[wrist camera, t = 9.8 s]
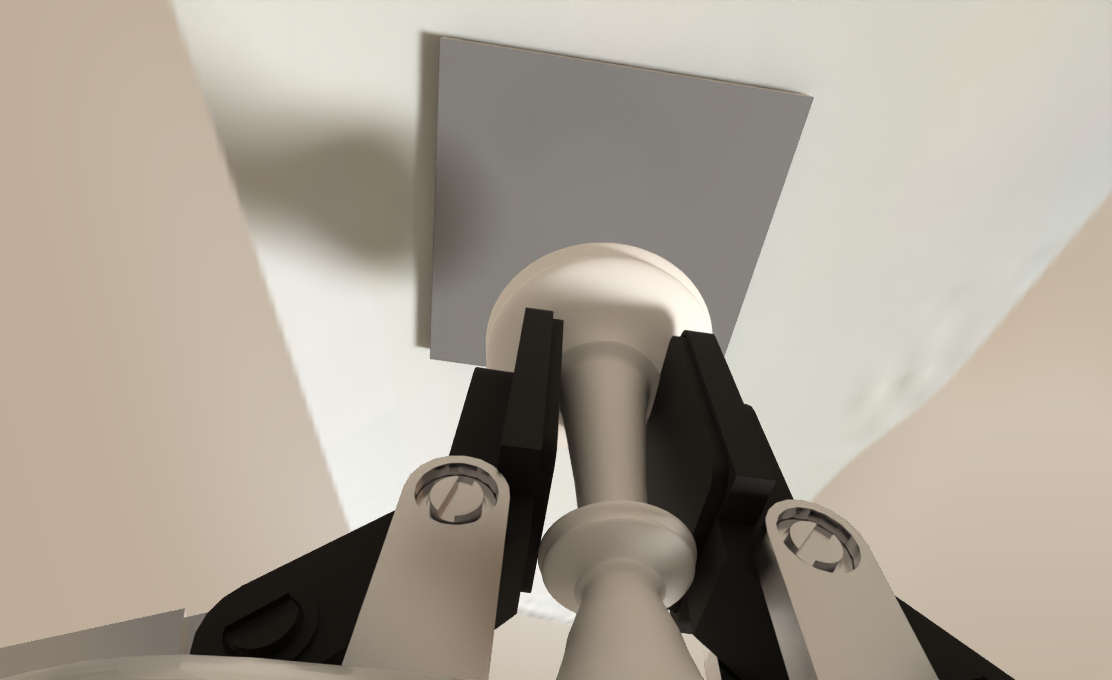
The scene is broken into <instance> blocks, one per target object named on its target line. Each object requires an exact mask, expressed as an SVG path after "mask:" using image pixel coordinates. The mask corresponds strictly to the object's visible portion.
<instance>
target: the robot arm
mask: <svg viewBox="0 0 1112 680" xmlns="http://www.w3.org/2000/svg"><path fill="white" fill-rule="evenodd" d="M553 314H554V311H549V310H542V309H535V308H528V307H526V309H525V314H524V319H523V325H522V330H521V336H520V341H519V347H518V352H517V358H516V363H515V369H514V372H508V371H500V370H493V369H486V368H479V367H476V368H475V370H474V373H473V376H472V379H471V383H470V386H469V389H468V393H467V396H466V400H465V403H464V406H463V410H462V413H461V417H460V420H459V423H458V427H457V430H456V434H455V437H454V440H453V444H452V447H451V450H450V454H449V456H446V457H441V458H436V459H433V460H431V461H429V462H427V463H425V464H423V465H421V466H420V467H418V468H417V469H416V470H415V471H414V472H413V473H412V474H410V476H409V478H408V479H407V481H406V483H405V485H404V487H403V490H402V493H401V495H400V498H399V501H398V504H397V507H396V510H395V511H393V512H391V513H388V514H386V515H384V516H382V517H380V518H378V519H376V520H374V521H372V522H370V523H368V524H366V525H364V526H362V527H360V528H358V529H356V530H354V531H352V532H350V533H348V534H346V535H344V536H342V537H340V538H338V539H336V540H334V541H332V542H330V543H328V544H326V545H324V546H322V547H320V548H318V549H316V550H314V551H312V552H310V553H308V554H305V555H303V556H302V557H299V558H297V559H295V560H293V561H291V562H289V563H287V564H285V565H283V566H281V567H279V568H277V569H275V570H273V571H271V572H269V573H267V574H265V575H263V576H261V577H259V578H257V579H255V580H253V581H251V582H249V583H247V584H245V585H243V586H241V587H240V588H238V589H236V590H235V591H233V592H232V593H230V594H228V595H227V596H225V597H224V598H222V600H220V601H219V602H218V603H217V604H216V605H215V606H214V607H213V608H212V609H211V610H210V611H209V612H208V613H203V614H199V615H194V616H190V617H188V616H187V613H186V609H185V608H184V609H179V610H175V611H170V612H166V613H161V614H156V615H152V616H147V617H142V618H138V619H133V620H129V621H124V622H119V623H115V624H110V625H105V626H101V627H96V628H92V629H87V630H82V631H78V632H73V633H68V634H64V635H60V636H55V637H50V638H45V639H41V640H36V641H31V642H27V643H22V644H18V645H13V646H8V647H4V648H0V680H488V678H489V669H490V661H491V652H492V644H493V636H494V630H495V629H496V628H498V627H499V626H500V625H502V624H503V623H505V622H506V621H507V620H509V619H510V618H512V617H513V616H514V615H516V614H517V609H518V603H519V597H520V592H526V593H531V590H532V585H533V580H534V575H535V569H536V564H537V558H538V549H539V546H540V542H541V537H542V532H543V526H544V521H545V515H546V510H547V505H548V499H549V494H550V489H551V483H552V478H553V472H554V467H555V460H556V452H557V443H558V425H559V405H560V385H561V365H562V345H563V326H564V320H560V319H553ZM646 488H647V504H649V505H653V506H656V507H658V508H661V509H663V510H665V511H667V512H669V513H671V514H672V515H674V516H675V517H677V518H678V519H679V520H680V521H681V522H682V523H683V524H684V525H685V526H686V527H687V528H688V529H689V531H690V532H691V534H692V536H693V538H694V540H695V543H696V548H697V560H696V565H695V575H694V579H693V582H692V584H691V586H690V587H689V589H688V590H687V592H686V593H685V594H684V595H683V596H682V597H681V598H680V599H679V600H678V601H677V602H676V603H674V604H673V605H671V606H670V607H668V608H667V610H670V615H671V617H672V618H673V620H674V621H675V623H676V625H677V626H678V628H679V630H680V632H681V633H686V634H693V635H694V636H695V637H696V638H697V639H698V640H699V641H700V642H701V643H702V644H703V645H705V646H706V647H705V650H704V666H705V671H706V677H707V680H1015V679H1013V678H1012V677H1010V676H1009V675H1007V674H1006V673H1005V672H1003V671H1002V670H1000V669H999V668H998V667H996V666H995V665H993V664H992V663H990V662H989V661H988V660H986V659H985V658H983V657H982V656H980V655H979V654H978V653H976V652H975V651H973V650H972V649H970V648H969V647H968V646H966V645H964V644H963V643H962V642H960V641H959V640H958V639H956V638H955V637H953V636H952V635H950V634H949V633H948V632H946V631H945V630H943V629H942V628H940V627H939V626H937V625H936V624H935V623H933V622H932V621H930V620H929V619H928V618H926V617H925V616H923V615H922V614H920V613H919V612H917V611H916V610H914V609H913V608H912V607H910V606H909V605H907V604H906V603H905V602H903V601H902V600H900V599H899V598H898V597H896V596H895V595H894V593H893V591H892V590H891V588H890V586H889V584H888V582H887V580H886V578H885V576H884V575H883V572H882V571H881V569H880V567H879V565H878V563H877V561H876V559H875V557H874V555H873V553H872V551H871V550H870V548H869V546H868V544H867V543H866V541H865V540H864V539H863V537H862V536H861V534H860V533H859V532H858V531H857V530H856V529H855V528H854V527H853V526H852V525H851V524H850V523H849V522H848V521H846V520H845V519H844V518H842V517H840V516H839V515H837V514H836V513H835V512H833V511H831V510H829V509H827V508H825V507H823V506H820V505H818V504H815V503H811V502H807V501H803V500H793V497H792V495H791V493H790V490H789V488H788V486H787V484H786V481H785V479H784V477H783V475H782V472H781V470H780V468H779V465H778V463H777V461H776V459H775V456H774V454H773V452H772V450H771V447H770V445H769V443H768V440H767V438H766V436H765V434H764V431H763V429H762V427H761V425H760V422H759V420H758V418H757V415H756V413H755V411H754V410H753V408H752V407H751V406H750V405H748V404H744V403H743V401H742V398H741V396H740V394H739V391H738V389H737V386H736V384H735V382H734V379H733V377H732V375H731V372H730V370H729V367H728V365H727V363H726V360H725V358H724V355H723V353H722V351H721V348H720V346H719V344H718V341H717V339H716V336H715V335H714V334H711V333H704V332H697V331H690V330H684V331H683V332H682V334H681V336H672V337H671V339H670V342H669V345H668V349H667V352H666V356H665V359H664V363H663V367H662V370H661V374H660V380H659V385H658V389H657V392H656V396H655V400H654V403H653V407H652V410H651V413H650V416H649V418H648V420H647V424H646Z"/></svg>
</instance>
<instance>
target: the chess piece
mask: <svg viewBox="0 0 1112 680" xmlns="http://www.w3.org/2000/svg"><path fill="white" fill-rule="evenodd" d="M526 307H528V308H535V309H542V310H549V311H554V314H553V319H560V320H564V326H563V345H562V365H561V385H560V405H559V425H558V443H557V445H558V446H561V447H565V448H568V449H569V454H570V459H571V465H572V471H573V477H574V482H575V489H576V498H577V506H578V509H575V510H573V511H571V512H569V513H567V514H566V515H564V516H563V517H561V518H560V519H558V520H557V521H556V522H555V523H554V524H553V525H552V526H551V527H550V528H549V529H548V530H547V532H546V533H545V535H544V536H543V538H542V540H541V543H540V546H539V549H538V564H539V568H540V571H541V574H542V578H543V582H544V584H545V586H546V588H547V590H548V592H549V593H550V594H551V596H552V597H553V598H554V599H555V600H556V601H557V602H559V603H560V604H561V605H562V606H564V607H565V608H567V609H569V610H571V611H573V612H575V613H577V614H576V617H575V620H574V622H573V625H572V627H571V630H570V632H569V635H568V639H567V643H566V648H565V654H564V657H563V661H562V664H561V667H560V670H559V673H558V676H557V679H556V680H704V679H703V677H702V676H701V674H700V672H699V670H698V668H697V666H696V665H695V663H694V661H693V659H692V657H691V655H690V653H689V651H688V649H687V647H686V644H685V642H684V640H683V637H682V634H681V632H680V630H679V628H678V626H677V625H676V623H675V621H674V620H673V618H672V617H671V615H670V613H669V612H668V610H667V608H668V607H670V606H671V605H673V604H674V603H676V602H677V601H678V600H679V599H680V598H681V597H682V596H683V595H684V594H685V593H686V592H687V590H688V589H689V587H690V586H691V584H692V582H693V579H694V575H695V565H696V560H697V548H696V543H695V540H694V538H693V536H692V534H691V532H690V531H689V529H688V528H687V527H686V526H685V525H684V524H683V523H682V522H681V521H680V520H679V519H678V518H677V517H675V516H674V515H672V514H671V513H669V512H667V511H665V510H663V509H661V508H658V507H656V506H653V505H649V504H647V488H646V424H647V420H648V418H649V416H650V413H651V410H652V407H653V403H654V400H655V396H656V392H657V389H658V385H659V380H660V374H661V370H662V367H663V363H664V359H665V356H666V352H667V349H668V345H669V342H670V339H671V337H672V336H681V334H682V332H683V331H684V330H690V331H697V332H704V333H711V334H713V333H712V325H711V319H710V315H709V312H708V309H707V306H706V304H705V302H704V300H703V298H702V296H701V294H700V293H699V291H698V289H697V288H696V287H695V285H694V284H693V283H692V281H691V280H690V279H689V278H688V277H687V276H686V275H685V274H684V273H683V272H682V271H681V270H680V269H678V268H677V267H676V266H674V265H673V264H672V263H670V262H669V261H667V260H665V259H664V258H662V257H660V256H658V255H656V254H654V253H652V252H649V251H647V250H644V249H641V248H638V247H634V246H630V245H625V244H618V243H586V244H579V245H574V246H570V247H566V248H563V249H560V250H557V251H554V252H552V253H550V254H547V255H545V256H543V257H541V258H540V259H538V260H536V261H534V262H533V263H531V264H530V265H528V266H527V267H526V268H524V269H523V270H522V271H521V272H520V273H518V274H517V275H516V276H515V277H514V278H513V279H512V280H511V281H510V283H509V284H508V285H507V286H506V287H505V289H504V290H503V291H502V293H501V294H500V296H499V298H498V299H497V301H496V303H495V305H494V307H493V310H492V312H491V315H490V318H489V322H488V326H487V332H486V362H487V369H493V370H500V371H508V372H514V369H515V363H516V358H517V352H518V347H519V341H520V336H521V330H522V325H523V319H524V314H525V309H526Z"/></svg>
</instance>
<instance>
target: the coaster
mask: <svg viewBox="0 0 1112 680" xmlns="http://www.w3.org/2000/svg"><path fill="white" fill-rule="evenodd" d="M813 99H814V97H812V96H809V95H806V94H800V93H794V92H788V91H781V90H775V89H769V88H763V87H756V86H750V85H744V84H738V83H731V82H725V81H719V80H713V79H706V78H700V77H694V76H688V75H681V74H675V73H669V72H663V71H656V70H650V69H644V68H638V67H631V66H625V65H619V64H613V63H606V62H600V61H594V60H588V59H581V58H575V57H569V56H563V55H557V54H550V53H544V52H538V51H532V50H525V49H519V48H513V47H507V46H500V45H494V44H488V43H482V42H475V41H469V40H463V39H457V38H450V37H440V56H439V87H438V119H437V150H436V182H435V213H434V245H433V276H432V308H431V339H430V359H435V360H442V361H449V362H456V363H464V364H471V365H478V366H485V367H487V362H486V332H487V326H488V322H489V318H490V315H491V312H492V310H493V307H494V305H495V303H496V301H497V299H498V298H499V296H500V294H501V293H502V291H503V290H504V289H505V287H506V286H507V285H508V284H509V283H510V281H511V280H512V279H513V278H514V277H515V276H516V275H517V274H518V273H520V272H521V271H522V270H523V269H524V268H526V267H527V266H528V265H530V264H531V263H533V262H534V261H536V260H538V259H540V258H541V257H543V256H545V255H547V254H550V253H552V252H554V251H557V250H560V249H563V248H566V247H570V246H574V245H579V244H586V243H618V244H625V245H630V246H634V247H638V248H641V249H644V250H647V251H649V252H652V253H654V254H656V255H658V256H660V257H662V258H664V259H665V260H667V261H669V262H670V263H672V264H673V265H674V266H676V267H677V268H678V269H680V270H681V271H682V272H683V273H684V274H685V275H686V276H687V277H688V278H689V279H690V280H691V281H692V283H693V284H694V285H695V287H696V288H697V289H698V291H699V293H700V294H701V296H702V298H703V300H704V302H705V304H706V306H707V309H708V312H709V315H710V319H711V325H712V333H713V334H714V335H715V336H716V339H717V341H718V344H719V346H720V348H721V351H722V353H723V355H724V356H725V353H726V350H727V347H728V344H729V341H730V339H731V336H732V333H733V330H734V327H735V324H736V321H737V318H738V315H739V313H740V310H741V307H742V304H743V301H744V298H745V295H746V292H747V289H748V287H749V284H750V281H751V278H752V275H753V272H754V269H755V266H756V263H757V260H758V258H759V255H760V252H761V249H762V246H763V243H764V240H765V237H766V234H767V232H768V229H769V226H770V223H771V220H772V217H773V214H774V211H775V208H776V206H777V203H778V200H779V197H780V194H781V191H782V188H783V185H784V182H785V180H786V177H787V174H788V171H789V168H790V165H791V162H792V159H793V156H794V153H795V151H796V148H797V145H798V142H799V139H800V136H801V133H802V130H803V127H804V125H805V122H806V119H807V116H808V113H809V110H810V107H811V104H812V101H813Z"/></svg>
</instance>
